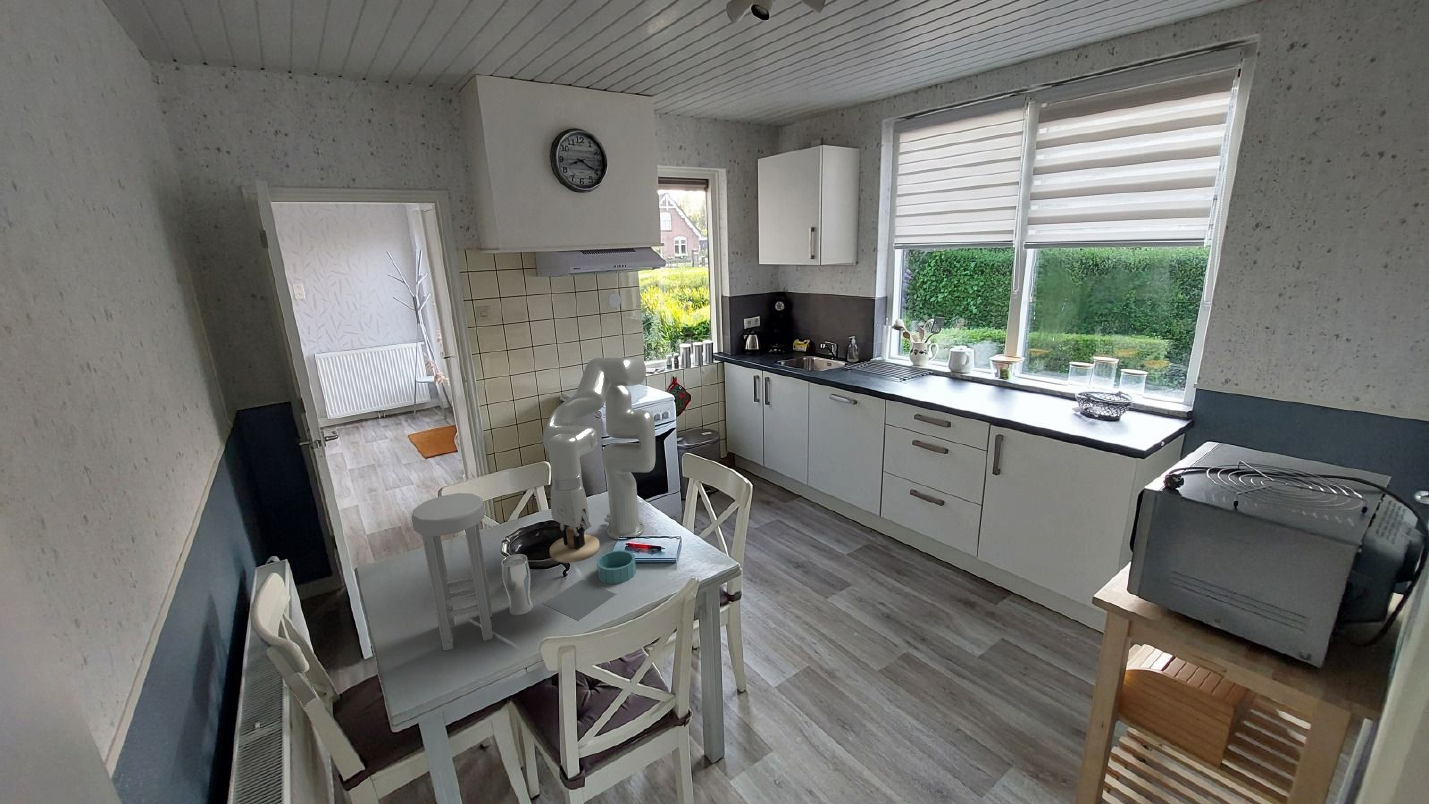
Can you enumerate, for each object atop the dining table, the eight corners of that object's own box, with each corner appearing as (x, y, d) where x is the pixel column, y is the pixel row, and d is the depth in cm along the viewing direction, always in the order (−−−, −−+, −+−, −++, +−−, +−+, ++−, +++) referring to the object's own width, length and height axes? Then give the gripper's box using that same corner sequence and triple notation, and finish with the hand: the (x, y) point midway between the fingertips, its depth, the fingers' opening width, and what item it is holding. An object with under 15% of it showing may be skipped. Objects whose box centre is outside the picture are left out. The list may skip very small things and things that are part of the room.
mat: (543, 605, 158) (543, 603, 158) (581, 581, 169) (581, 579, 169) (578, 622, 150) (578, 620, 150) (616, 596, 161) (616, 594, 161)
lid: (539, 554, 154) (537, 533, 153) (576, 534, 165) (574, 514, 163) (573, 567, 147) (570, 545, 146) (609, 545, 157) (607, 524, 156)
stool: (501, 641, 144) (481, 512, 135) (433, 658, 139) (407, 525, 130) (500, 607, 158) (482, 488, 149) (438, 621, 153) (415, 499, 144)
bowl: (590, 578, 171) (589, 563, 169) (617, 561, 179) (615, 546, 178) (617, 589, 164) (616, 573, 163) (643, 571, 173) (642, 556, 172)
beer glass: (527, 599, 161) (520, 550, 158) (539, 609, 157) (532, 559, 153) (503, 610, 157) (495, 560, 153) (515, 621, 152) (507, 570, 148)
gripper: (535, 480, 153) (543, 543, 157) (578, 493, 143) (585, 559, 148) (557, 470, 158) (564, 531, 163) (600, 482, 149) (606, 547, 154)
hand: (574, 544), depth 156 cm, fingers closed on lid, 3 cm apart
